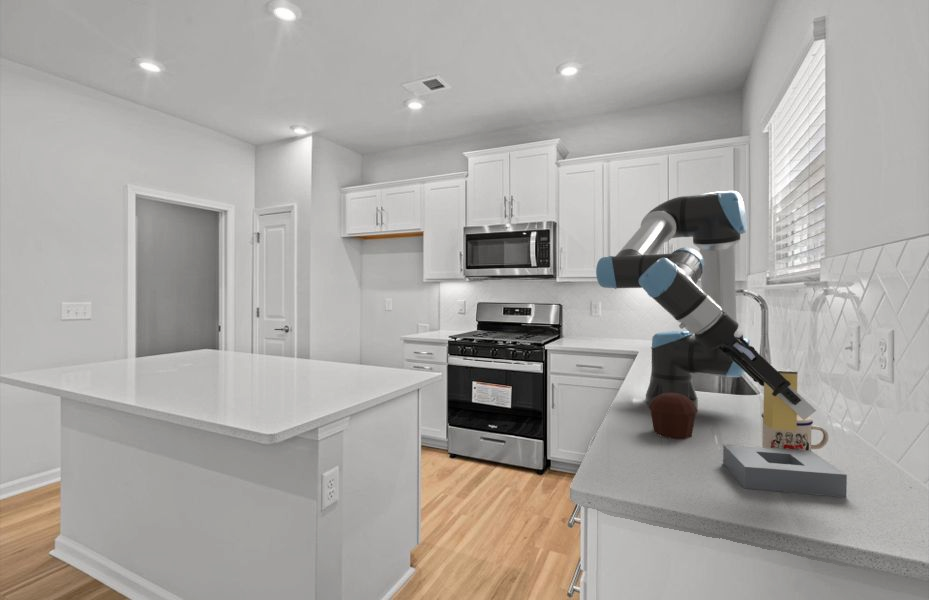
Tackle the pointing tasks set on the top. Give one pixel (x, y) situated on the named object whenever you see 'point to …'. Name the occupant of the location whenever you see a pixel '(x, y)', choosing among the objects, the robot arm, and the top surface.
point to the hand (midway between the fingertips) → (802, 411)
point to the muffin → (673, 415)
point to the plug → (780, 405)
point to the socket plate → (784, 470)
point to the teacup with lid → (793, 436)
